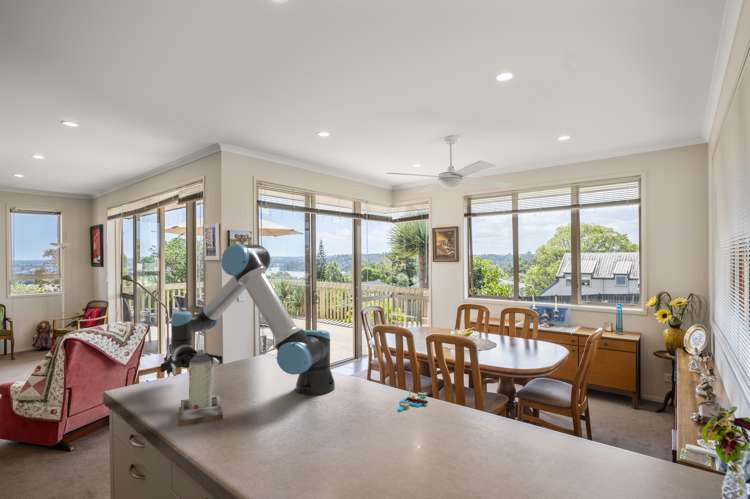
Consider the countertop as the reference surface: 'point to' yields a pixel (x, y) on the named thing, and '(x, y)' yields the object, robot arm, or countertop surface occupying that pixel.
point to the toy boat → (412, 399)
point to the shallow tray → (200, 413)
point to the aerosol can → (200, 381)
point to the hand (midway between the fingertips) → (197, 368)
